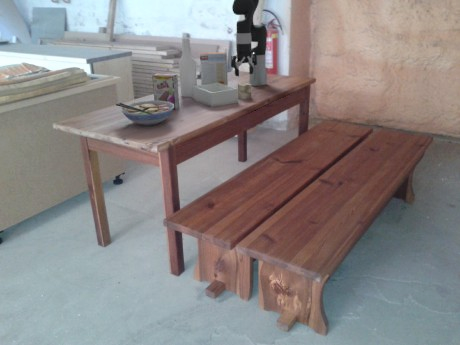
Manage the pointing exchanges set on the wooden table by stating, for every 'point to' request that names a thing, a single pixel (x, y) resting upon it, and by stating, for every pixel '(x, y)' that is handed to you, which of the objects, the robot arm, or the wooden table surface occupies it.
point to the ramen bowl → (147, 111)
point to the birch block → (244, 90)
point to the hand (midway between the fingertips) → (244, 75)
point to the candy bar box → (166, 88)
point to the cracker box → (213, 68)
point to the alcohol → (187, 70)
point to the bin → (215, 94)
